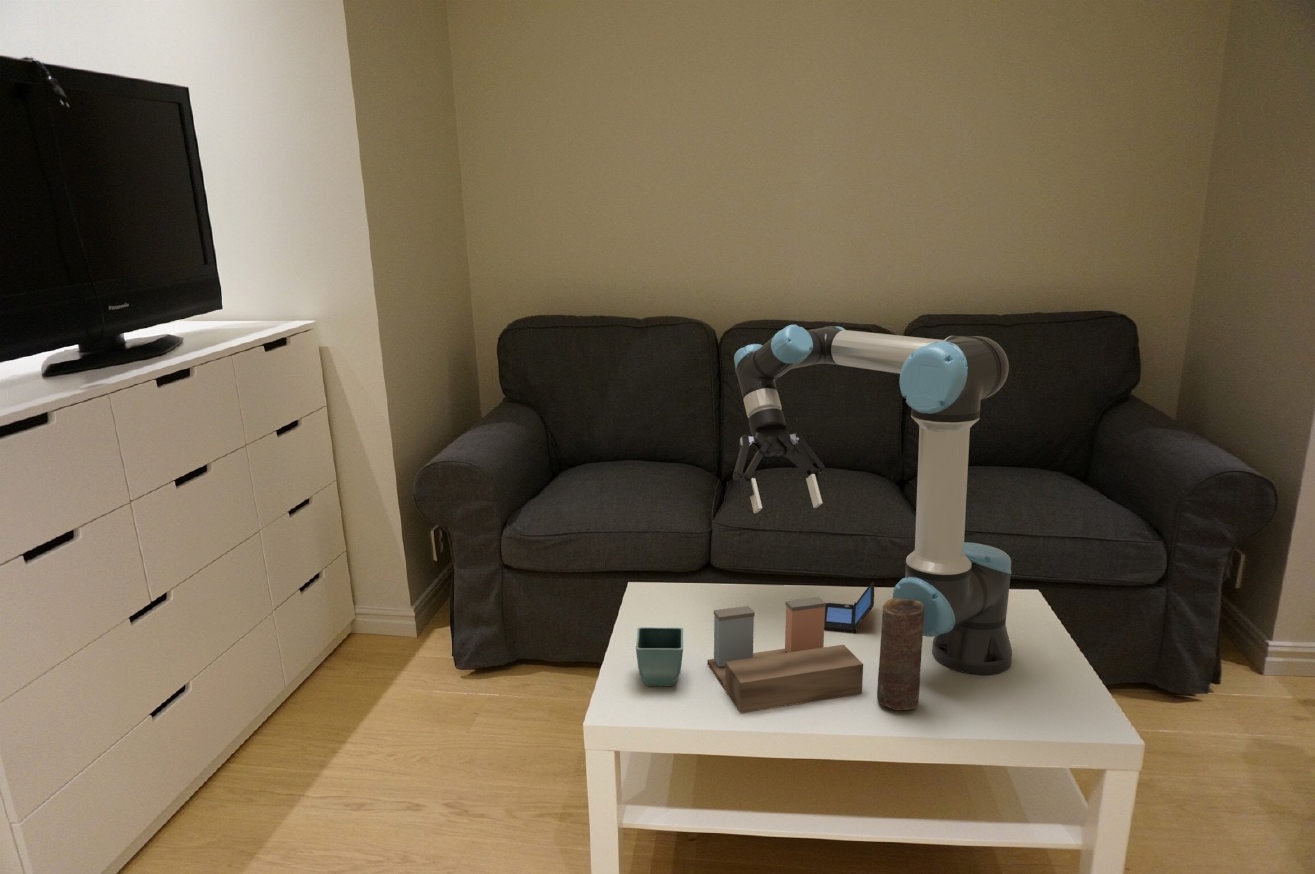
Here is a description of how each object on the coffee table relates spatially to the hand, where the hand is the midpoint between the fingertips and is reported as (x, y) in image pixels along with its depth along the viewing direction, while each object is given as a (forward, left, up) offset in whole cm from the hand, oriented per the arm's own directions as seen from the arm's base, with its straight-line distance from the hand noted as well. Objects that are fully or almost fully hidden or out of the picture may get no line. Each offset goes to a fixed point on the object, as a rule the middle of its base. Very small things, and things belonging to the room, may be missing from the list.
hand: (788, 508), depth 187 cm
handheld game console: (-10, -13, -29) cm, 33 cm away
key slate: (+4, +18, -27) cm, 32 cm away
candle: (-28, +16, -28) cm, 43 cm away
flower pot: (+14, +29, -28) cm, 43 cm away
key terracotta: (-7, +7, -27) cm, 29 cm away
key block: (-6, +17, -28) cm, 33 cm away
